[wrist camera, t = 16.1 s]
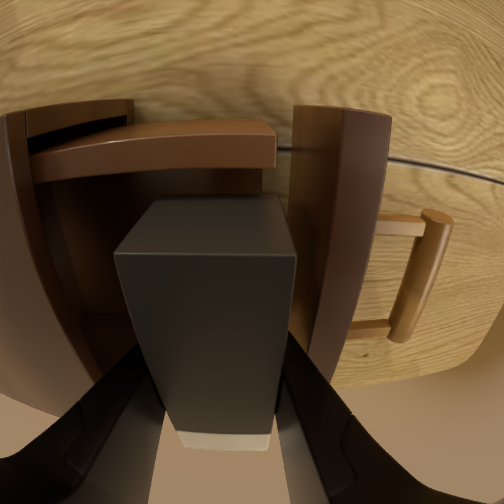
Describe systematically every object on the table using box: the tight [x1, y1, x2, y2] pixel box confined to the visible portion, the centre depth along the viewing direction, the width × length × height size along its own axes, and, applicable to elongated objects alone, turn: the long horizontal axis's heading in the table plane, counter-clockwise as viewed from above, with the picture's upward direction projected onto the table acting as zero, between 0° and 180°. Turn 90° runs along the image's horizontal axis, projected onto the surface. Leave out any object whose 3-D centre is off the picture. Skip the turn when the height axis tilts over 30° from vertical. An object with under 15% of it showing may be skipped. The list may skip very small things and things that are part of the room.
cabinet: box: [0, 99, 134, 417], centre depth 11 cm, size 15×14×9 cm
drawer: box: [28, 105, 454, 384], centre depth 11 cm, size 18×12×7 cm
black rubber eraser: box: [113, 194, 297, 451], centre depth 8 cm, size 3×8×3 cm, turn 179°
